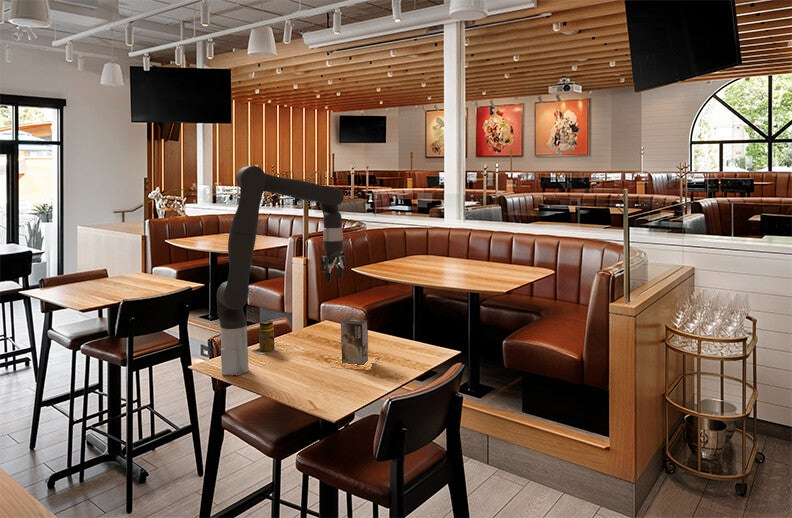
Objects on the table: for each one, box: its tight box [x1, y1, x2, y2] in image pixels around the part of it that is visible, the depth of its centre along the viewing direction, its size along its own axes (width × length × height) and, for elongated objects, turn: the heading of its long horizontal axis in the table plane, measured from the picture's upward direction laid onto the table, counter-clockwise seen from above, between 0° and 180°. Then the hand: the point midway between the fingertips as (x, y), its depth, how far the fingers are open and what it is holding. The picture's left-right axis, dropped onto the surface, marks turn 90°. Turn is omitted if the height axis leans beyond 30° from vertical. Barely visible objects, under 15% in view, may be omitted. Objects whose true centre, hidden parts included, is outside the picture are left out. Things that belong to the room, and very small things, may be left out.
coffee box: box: [340, 318, 369, 365], centre depth 220 cm, size 9×6×16 cm
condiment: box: [251, 320, 279, 355], centre depth 235 cm, size 7×8×12 cm
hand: (334, 280), depth 225 cm, fingers open, 8 cm apart
